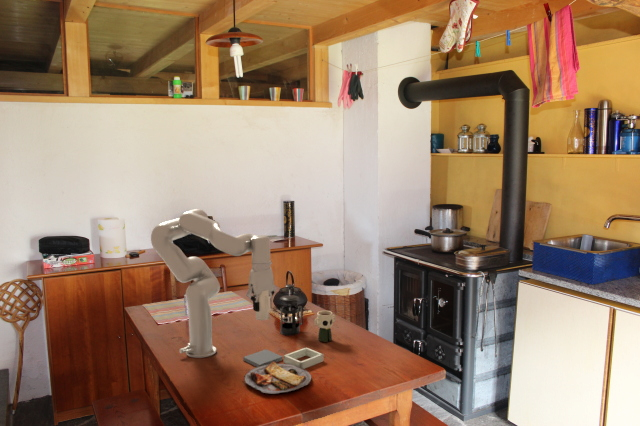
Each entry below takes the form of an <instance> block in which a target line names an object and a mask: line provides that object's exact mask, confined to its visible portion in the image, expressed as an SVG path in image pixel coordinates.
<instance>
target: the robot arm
mask: <svg viewBox="0 0 640 426" xmlns="http://www.w3.org/2000/svg"><path fill="white" fill-rule="evenodd" d="M190 234H192V235H194V236H196V237H200V238H202V239H204V240H207V241H208V242H209V243H210V244H211V245H212V246H213V247H214V248H215V249H217V250H219V251H221V252H223V253H226V254H229V255H231V256H234V257H240V256H242V255H244V254H247V253H250V252H251V269H250V271H249V276H248V291H247V292H246V297H248V298H249V299H250V300H251V301H252V310H253V311H254V312H256V311H257V312H259V302H258V299H259V295H260V294H262V291H266V290H268V292H269V296H270V301H271V302H272V299H273V297H274V295H275V292H277V289H278V287H277V286H276V285H275V282H274V280H275V279H274V274H273V273H274V272H273V269H272V267H271V265H273V261H272V260H271V239H270V238H271V237H269V236H268V235H263V234H262V235H257V234H256V235H255V234H251V233H242V234H240V235H237V236H233V235H230V234H228V233H226V232H224V231H222V230H221V225H220V223H219V222H218V221H216V220H213V219H211V218H209V217H208V214H207V213H206V212H205V210H203V209H199V208H195V209H190V210H188V211H185V212H183V213H182V214H181V215H180V216H179V217H178V218H174V219H171V220H167V221H163V222H161V223H159V224H157V225H156V226H154V227H153V229H152V231H151V235H150V241H151V242H150V243H151V245H152V248H153V249H154V251H155V252H156V254H157V255H158V256H159V257H160V259H162V260H163V263H165V265H166V266H167V267H168V269H169V270H170V272H171V273H172V274H173V276H174V277H175V279H176V280H177V281H178V282H180V283H182V284H185V283H188V282H191V281H193V282H192V283H190V284H189V285H188V286H187V288H186V290H185V300H186V305H187V310H188V312H187V313H188V329H189V332H188V333H189V334H188V335H189V342H188V343H187V345H186V346H185V347H182V348H179V349H178V350H179V353H180V354H183V353H185V354H186V355H187V356H188V357H190V358H192V359H193V358H195V359H201V358H207V357H208V358H209V357H211V356H213V355H214V354H216V353H217V347H216V346H214V345H213V323H212V322H213V320H212V319H213V318H212V308H211V305H210V303H209V300H211V299H212V298H214V297H216V296H217V295H218V294H219V292H220V291H221V285H220V282H219V280H218V278H217V276H216V275H215V274H214V272H213V271H212V270H211V269H210V267H209V266H208V265H207V263H206V262H205V260H203V259H202V258H201V257H198V256H189V257H187V256H186V255H185V253H184V252H183V251H182V249H181V248H180V247H179V246H178V245H176V244H175V243H174V242H173V241H175V240H178V239H181V238H183V237H186V236H188V235H190ZM255 296H256V298H255Z"/></svg>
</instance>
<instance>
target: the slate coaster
mask: <svg viewBox="0 0 640 426" xmlns="http://www.w3.org/2000/svg"><path fill="white" fill-rule="evenodd" d="M242 359H243V361H244V362H246V363H248V364H249V365H251V366H254V367H255V368H256V367H260V366H263V365H269V364H271V363H272V362H275V363H278V362H282V361H284V356H283V355H280V354H277V353H276V352H274V351H270V350H268V349H263V350H259V351H258V352H254V353H251V354H248V355H246V356H243V357H242Z"/></svg>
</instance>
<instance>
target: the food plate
mask: <svg viewBox="0 0 640 426" xmlns="http://www.w3.org/2000/svg"><path fill="white" fill-rule="evenodd" d="M243 379H244V383H245V384H246V385H248V386H250V387H251V388H253V389H255V390H258V391H260V392H261V393H263V394H264V393H265V394H271V395H275V394H280V393H288V392H291V391H295V390H296V391H297V390H299V389H300V388H303V387H305V386H307V385H309V384H310V382H311V380H312V375H311V374H310V372H309V371H308V370H307V369H306V368H305V369H303V368H300V367H297V366H293V365H290V364H286V363H278V362H276V363H275V362H272V363H271V364H269V365H263V366H260V367H256V366H255V367H253V368H252V369H249V371H248V372H246V373H245V375H244V376H243ZM290 387H291V388H290Z"/></svg>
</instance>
